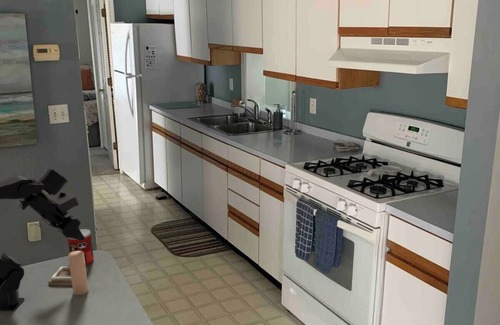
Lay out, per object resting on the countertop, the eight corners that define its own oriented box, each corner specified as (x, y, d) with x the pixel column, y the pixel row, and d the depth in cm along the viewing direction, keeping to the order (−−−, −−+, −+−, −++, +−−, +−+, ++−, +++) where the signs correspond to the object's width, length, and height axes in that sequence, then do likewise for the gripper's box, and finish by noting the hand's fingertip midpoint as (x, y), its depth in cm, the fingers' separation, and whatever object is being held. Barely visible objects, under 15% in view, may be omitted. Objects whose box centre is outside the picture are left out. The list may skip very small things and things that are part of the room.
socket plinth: (77, 285, 168) (76, 279, 167) (48, 285, 168) (47, 279, 168) (88, 271, 177) (87, 265, 176) (60, 271, 178) (60, 265, 177)
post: (85, 295, 161) (80, 257, 158) (71, 295, 162) (65, 257, 158) (90, 287, 166) (86, 250, 162) (76, 287, 166) (71, 250, 163)
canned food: (66, 265, 182) (62, 236, 179) (80, 255, 189) (77, 227, 186) (84, 268, 179) (80, 239, 176) (98, 258, 186) (95, 230, 183)
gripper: (74, 193, 155) (107, 223, 164) (50, 180, 168) (82, 209, 177) (48, 222, 151) (83, 251, 160) (25, 206, 164) (59, 234, 174)
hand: (77, 235), depth 168 cm, fingers open, 9 cm apart
